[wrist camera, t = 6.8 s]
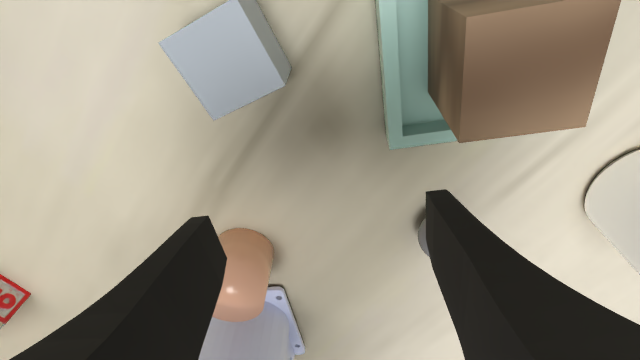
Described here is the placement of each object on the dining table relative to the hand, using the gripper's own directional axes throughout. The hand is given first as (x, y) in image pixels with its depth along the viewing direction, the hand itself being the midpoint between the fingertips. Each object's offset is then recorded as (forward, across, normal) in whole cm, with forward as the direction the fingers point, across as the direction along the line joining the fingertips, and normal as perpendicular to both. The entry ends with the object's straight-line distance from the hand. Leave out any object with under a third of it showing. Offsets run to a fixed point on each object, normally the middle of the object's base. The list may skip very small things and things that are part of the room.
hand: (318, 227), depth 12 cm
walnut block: (+9, -8, -3) cm, 12 cm away
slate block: (+10, +4, -4) cm, 11 cm away
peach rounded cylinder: (+10, +8, +10) cm, 16 cm away
